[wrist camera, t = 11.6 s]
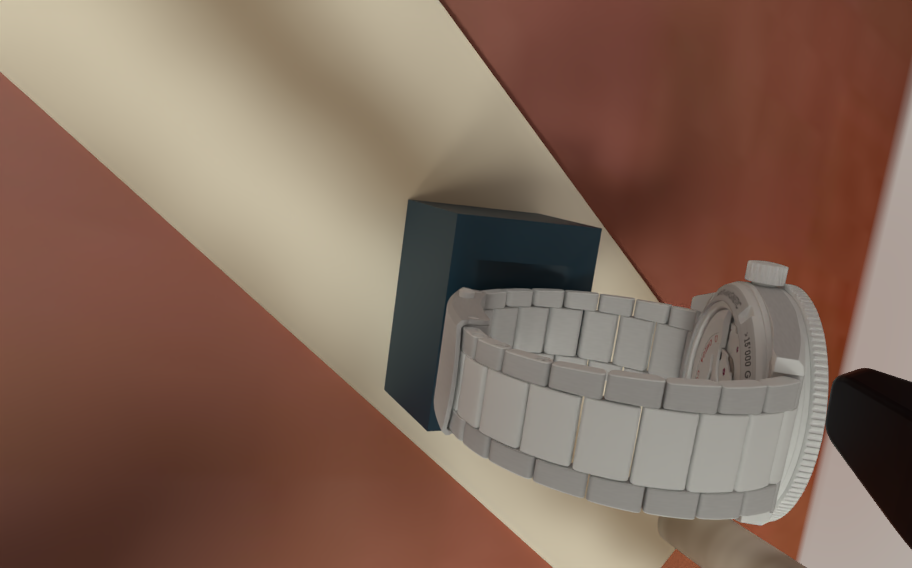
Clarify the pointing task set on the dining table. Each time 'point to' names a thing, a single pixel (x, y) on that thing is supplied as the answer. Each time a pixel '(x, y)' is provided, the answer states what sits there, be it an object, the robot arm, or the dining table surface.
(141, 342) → the dining table surface
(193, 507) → the dining table surface
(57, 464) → the dining table surface
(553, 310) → the watch
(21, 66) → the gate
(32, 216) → the dining table surface
